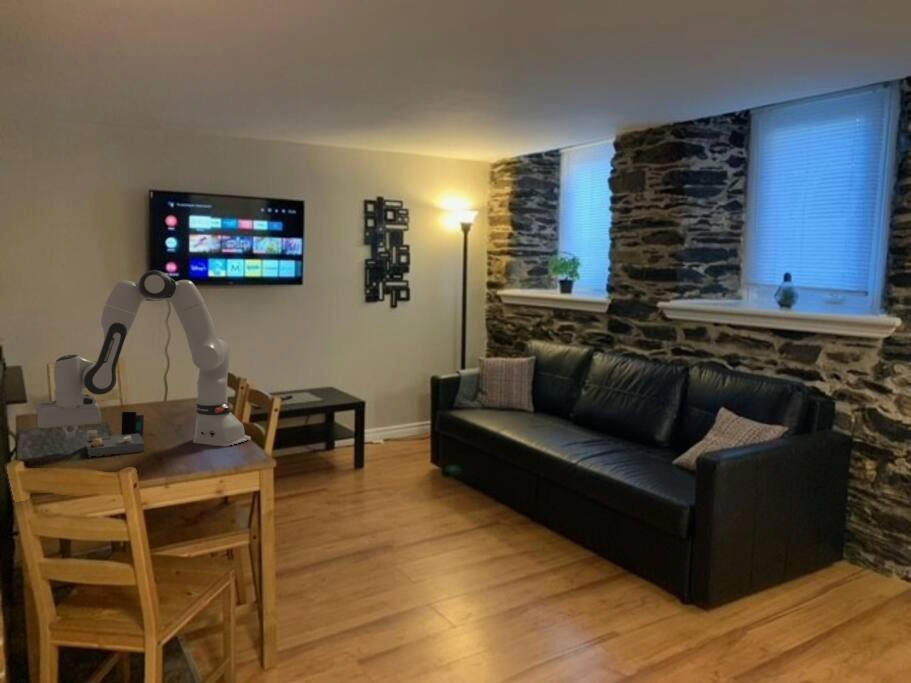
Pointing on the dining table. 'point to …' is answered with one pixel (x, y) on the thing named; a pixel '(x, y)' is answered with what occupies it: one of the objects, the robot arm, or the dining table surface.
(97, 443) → the push button
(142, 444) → the control panel
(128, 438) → the rocker switch
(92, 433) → the slide paddle
